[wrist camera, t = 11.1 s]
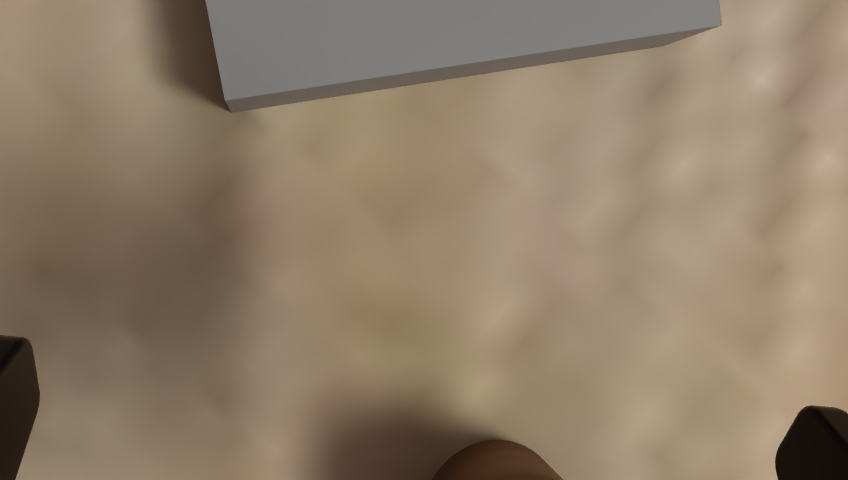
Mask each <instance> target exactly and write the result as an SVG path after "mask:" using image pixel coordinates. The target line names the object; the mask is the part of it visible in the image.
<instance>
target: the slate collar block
mask: <svg viewBox="0 0 848 480" xmlns="http://www.w3.org/2000/svg"><path fill="white" fill-rule="evenodd" d="M205 1H206V6H207V11H208V16H209V21H210V27H211V32H212V37H213V42H214V47H215V52H216V58H217V63H218V68H219V73H220V78H221V83H222V89H223V94H224V99H225V102H226V104H227V105H228V107H229V109H230V111H231V113H232V112H238V111H245V110H251V109H258V108H264V107H270V106H277V105H283V104H290V103H296V102H303V101H309V100H316V99H322V98H329V97H335V96H342V95H348V94H355V93H361V92H368V91H374V90H381V89H387V88H394V87H400V86H407V85H413V84H420V83H426V82H433V81H439V80H445V79H452V78H458V77H465V76H471V75H478V74H484V73H491V72H497V71H504V70H510V69H517V68H523V67H530V66H536V65H543V64H549V63H556V62H562V61H569V60H575V59H582V58H588V57H595V56H601V55H608V54H614V53H621V52H627V51H633V50H640V49H646V48H653V47H659V46H664V45H667V44H670V43H673V42H676V41H678V40H681V39H684V38H687V37H690V36H693V35H696V34H698V33H701V32H704V31H707V30H710V29H713V28H716V27H718V26H721V25H722V21H721V13H720V5H719V0H205Z"/></svg>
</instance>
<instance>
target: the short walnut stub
mask: <svg viewBox="0 0 848 480" xmlns="http://www.w3.org/2000/svg"><path fill="white" fill-rule="evenodd" d="M433 480H563V479H562V478H561V477H560V476H559V475H558V474H557V473H556V472H555V471H554V470H553V469H552V468H551V467H550V466H549V465H548V464H547V463H546V462H545V461H544V460H543V459H542V458H541V457H540V456H539V455H538V454H536V453H535V452H534V451H532V450H531V449H529V448H527V447H525V446H523V445H520V444H518V443H514V442H510V441H501V440H495V441H485V442H480V443H477V444H474V445H471V446H469V447H467V448H465V449H463V450H461V451H460V452H458V453H456V454H455V455H454V456H452V457H451V458H450V459H449V460H448V461H447V462H446V463H445V464H444V465H443V466H442V467H441V468H440V469H439V471H438V472H437V473H436V475H435V477H434V478H433Z"/></svg>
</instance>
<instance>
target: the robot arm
mask: <svg viewBox="0 0 848 480" xmlns="http://www.w3.org/2000/svg"><path fill="white" fill-rule="evenodd" d="M39 400H40V391H39V384H38V378H37V372H36V366H35V360H34V354H33V348H32V345H31V343H30V341H29V340H28V339H26V338H23V337H15V336H4V335H0V480H15V479H16V476H17V473H18V470H19V467H20V464H21V461H22V458H23V455H24V452H25V449H26V445H27V442H28V439H29V436H30V433H31V430H32V427H33V424H34V421H35V418H36V415H37V411H38V407H39ZM775 466H776V473H777V477H778V480H848V414H847V413H846V412H845V411H843V410H841V409H838V408H834V407H823V406H806V407H805V408H803V409H802V410H800V412H799V413H798V415H797V417H796V418H795V420H794V422H793V423H792V425H791V427H790V429H789V430H788V432H787V434H786V436H785V437H784V439H783V441H782V442H781V444H780V446H779V448H778V450H777V454H776V460H775Z"/></svg>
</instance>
